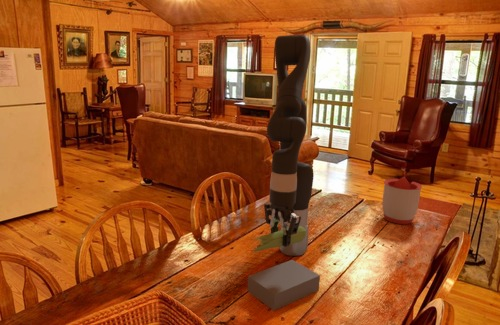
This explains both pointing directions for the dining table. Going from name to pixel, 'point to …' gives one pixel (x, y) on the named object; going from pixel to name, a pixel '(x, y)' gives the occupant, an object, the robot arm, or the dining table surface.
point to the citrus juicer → (400, 200)
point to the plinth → (283, 284)
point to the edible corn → (279, 239)
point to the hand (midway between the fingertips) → (280, 242)
